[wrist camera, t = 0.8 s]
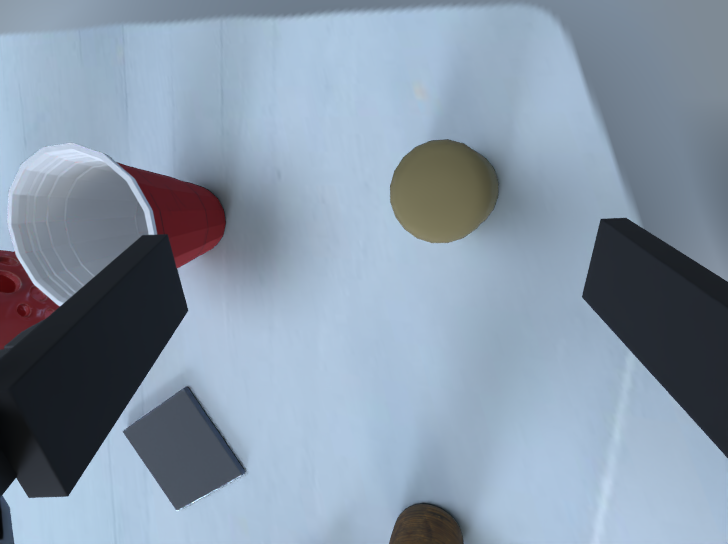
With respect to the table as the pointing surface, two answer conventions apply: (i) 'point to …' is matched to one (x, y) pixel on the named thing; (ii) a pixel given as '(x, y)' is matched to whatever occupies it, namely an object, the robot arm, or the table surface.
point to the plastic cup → (100, 216)
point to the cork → (443, 191)
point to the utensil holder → (425, 527)
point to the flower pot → (19, 299)
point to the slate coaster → (183, 450)
